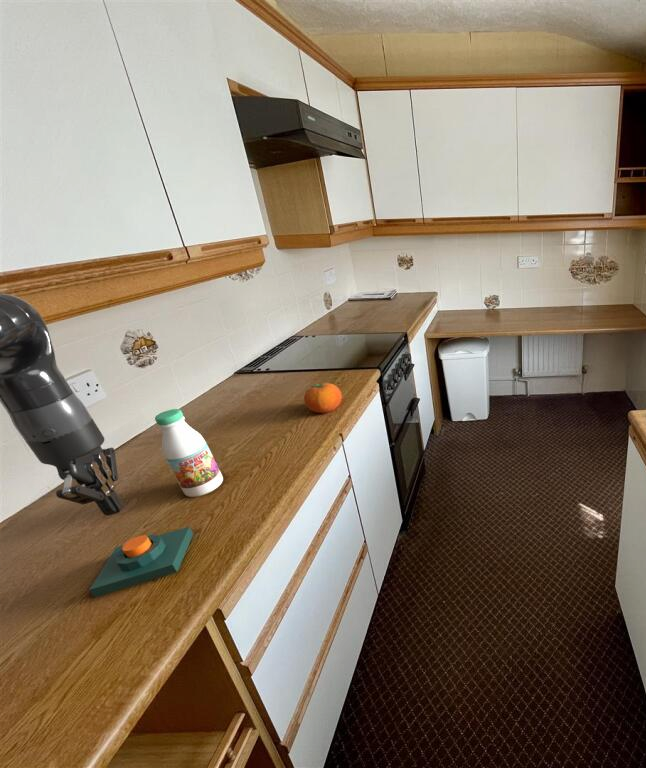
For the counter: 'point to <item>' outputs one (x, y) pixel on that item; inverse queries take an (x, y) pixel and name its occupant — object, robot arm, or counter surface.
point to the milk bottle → (188, 455)
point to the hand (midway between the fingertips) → (115, 511)
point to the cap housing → (143, 563)
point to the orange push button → (136, 546)
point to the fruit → (322, 398)
